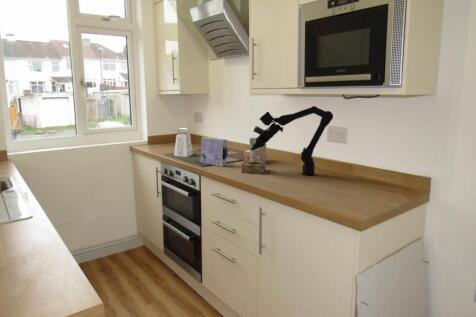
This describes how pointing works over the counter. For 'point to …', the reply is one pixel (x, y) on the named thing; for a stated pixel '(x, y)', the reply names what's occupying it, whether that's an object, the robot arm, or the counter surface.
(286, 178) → the counter surface
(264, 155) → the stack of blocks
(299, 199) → the counter surface
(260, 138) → the robot arm
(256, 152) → the mottled grey cylinder
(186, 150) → the grater
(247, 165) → the groove block
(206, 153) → the cake pan box
